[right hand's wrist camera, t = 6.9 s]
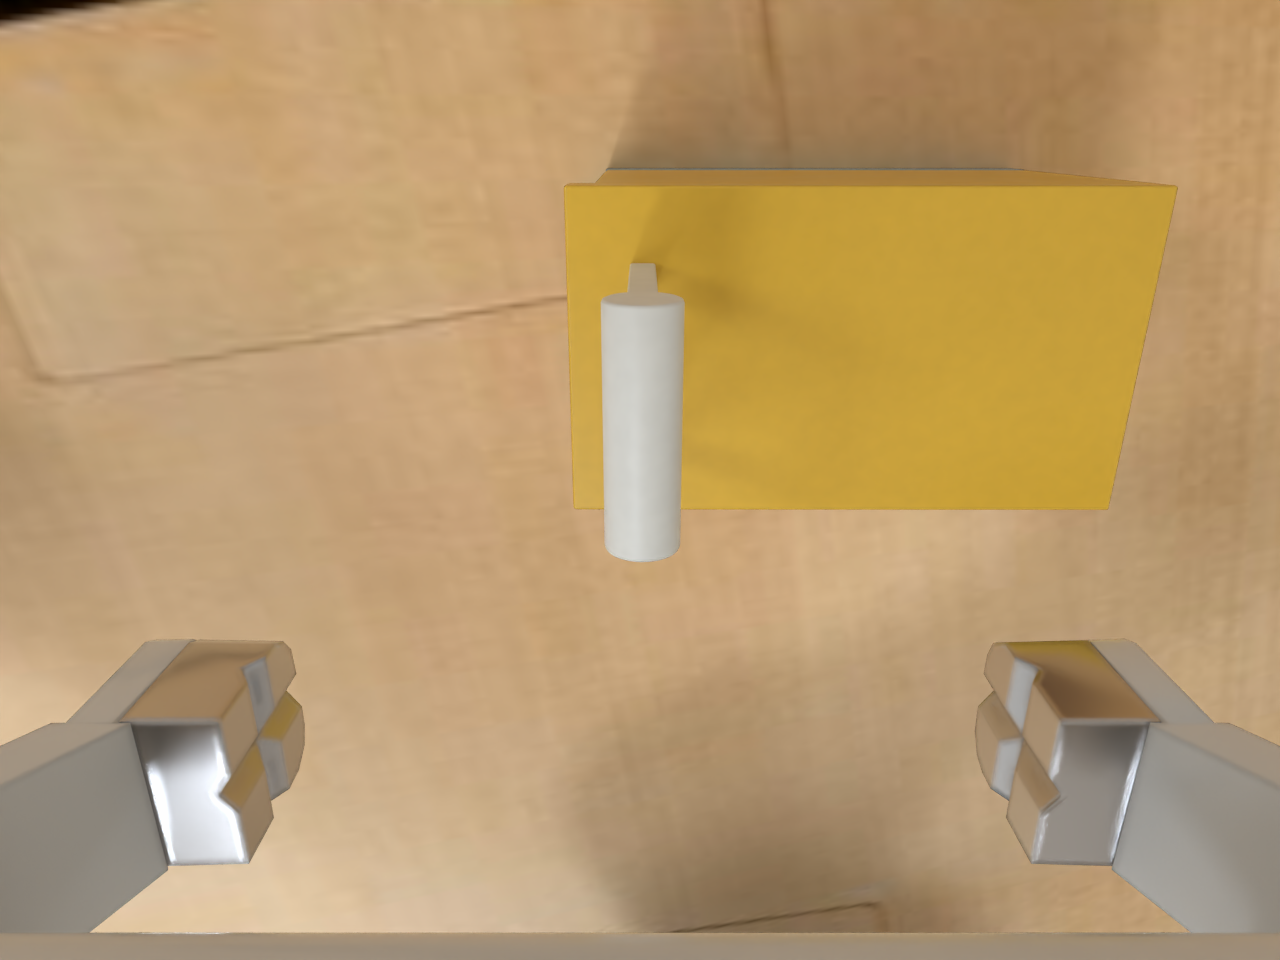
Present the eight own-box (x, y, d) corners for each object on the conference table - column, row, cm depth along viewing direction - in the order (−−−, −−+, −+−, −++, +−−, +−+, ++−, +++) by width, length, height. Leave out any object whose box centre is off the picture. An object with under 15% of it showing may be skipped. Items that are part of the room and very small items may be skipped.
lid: (576, 495, 28) (550, 636, 20) (567, 183, 24) (531, 207, 17) (1091, 496, 28) (1265, 637, 20) (1156, 183, 24) (1396, 207, 17)
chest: (610, 402, 37) (599, 495, 28) (607, 168, 34) (593, 182, 24) (976, 403, 37) (1090, 496, 28) (1011, 168, 34) (1156, 182, 24)
